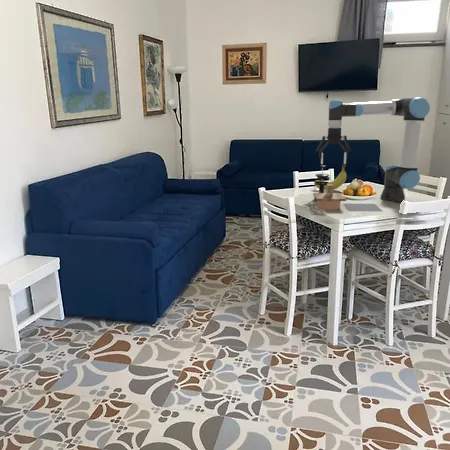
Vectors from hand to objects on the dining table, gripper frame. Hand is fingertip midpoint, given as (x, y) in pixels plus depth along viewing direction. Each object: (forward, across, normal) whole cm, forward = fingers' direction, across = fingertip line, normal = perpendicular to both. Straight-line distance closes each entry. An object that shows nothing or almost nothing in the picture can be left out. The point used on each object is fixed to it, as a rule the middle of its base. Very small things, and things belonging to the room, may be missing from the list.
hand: (333, 163), depth 266 cm
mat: (+27, -18, +2) cm, 33 cm away
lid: (+20, +2, +2) cm, 21 cm away
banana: (+27, -8, -55) cm, 62 cm away
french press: (+27, +3, -21) cm, 35 cm away
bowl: (+27, +2, +2) cm, 27 cm away
